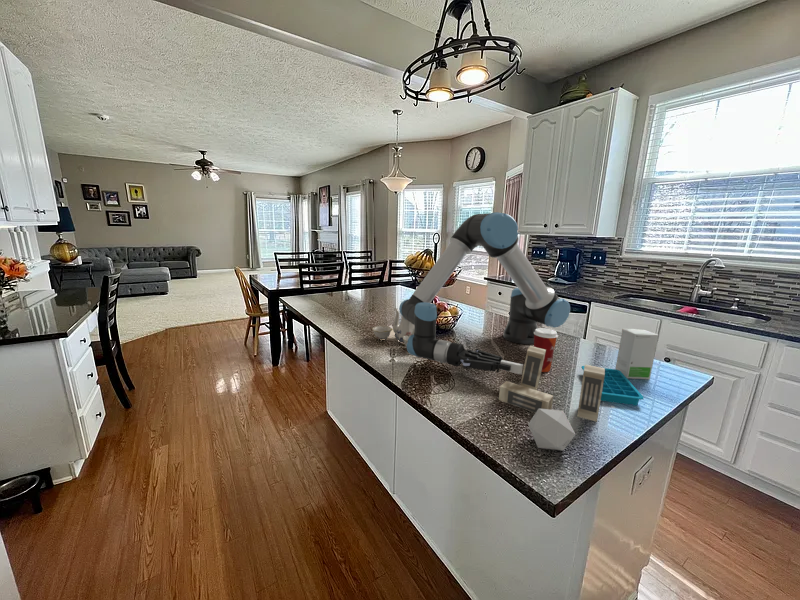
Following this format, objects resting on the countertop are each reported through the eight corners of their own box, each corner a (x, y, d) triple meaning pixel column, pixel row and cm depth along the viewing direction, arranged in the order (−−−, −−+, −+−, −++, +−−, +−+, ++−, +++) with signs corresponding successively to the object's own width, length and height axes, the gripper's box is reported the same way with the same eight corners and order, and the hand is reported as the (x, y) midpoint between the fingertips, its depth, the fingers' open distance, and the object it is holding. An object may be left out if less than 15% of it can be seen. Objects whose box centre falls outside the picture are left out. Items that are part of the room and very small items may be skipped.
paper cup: (555, 374, 110) (561, 335, 107) (531, 372, 112) (536, 333, 109) (550, 365, 118) (554, 328, 115) (527, 363, 119) (531, 326, 116)
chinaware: (365, 344, 141) (362, 307, 136) (389, 331, 153) (387, 297, 148) (419, 360, 124) (418, 319, 119) (441, 344, 137) (441, 307, 132)
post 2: (506, 380, 95) (553, 395, 87) (505, 394, 96) (551, 410, 88) (499, 386, 92) (548, 402, 84) (498, 401, 93) (546, 418, 85)
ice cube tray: (617, 378, 109) (619, 369, 109) (643, 409, 90) (645, 399, 90) (579, 373, 112) (580, 365, 112) (596, 402, 93) (598, 392, 93)
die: (562, 467, 68) (589, 427, 68) (524, 439, 69) (551, 401, 70) (550, 455, 76) (574, 419, 76) (516, 430, 78) (540, 395, 78)
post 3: (578, 408, 89) (584, 364, 86) (597, 413, 87) (604, 368, 84) (577, 417, 85) (583, 370, 82) (596, 422, 83) (604, 375, 80)
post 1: (522, 384, 102) (530, 345, 99) (537, 388, 100) (546, 349, 97) (519, 390, 98) (527, 350, 95) (534, 395, 96) (543, 354, 93)
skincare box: (625, 379, 108) (634, 334, 104) (613, 370, 114) (620, 328, 111) (651, 379, 108) (660, 334, 104) (637, 371, 114) (645, 328, 111)
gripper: (456, 357, 116) (525, 373, 104) (441, 370, 105) (516, 389, 93) (457, 337, 115) (528, 351, 103) (442, 348, 104) (519, 365, 92)
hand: (522, 369), depth 98 cm, fingers closed
